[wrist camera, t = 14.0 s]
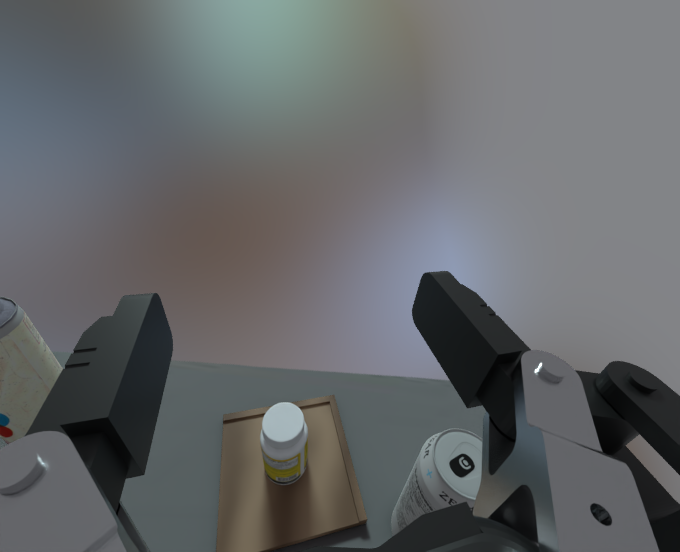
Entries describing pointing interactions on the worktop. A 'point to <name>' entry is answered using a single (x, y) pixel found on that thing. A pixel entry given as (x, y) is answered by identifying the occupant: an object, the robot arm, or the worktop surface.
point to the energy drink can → (441, 477)
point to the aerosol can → (22, 371)
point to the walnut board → (285, 500)
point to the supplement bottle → (284, 443)
